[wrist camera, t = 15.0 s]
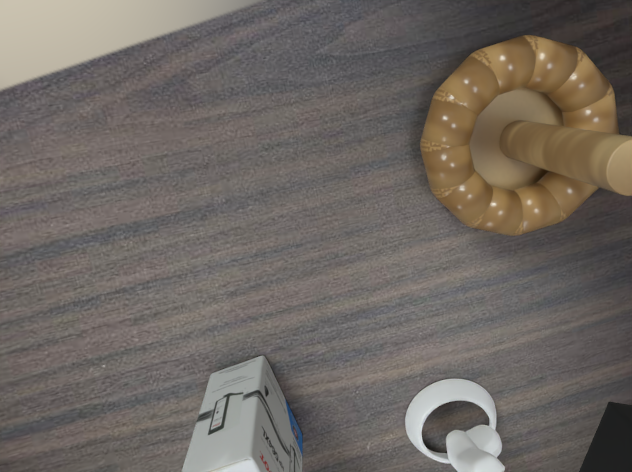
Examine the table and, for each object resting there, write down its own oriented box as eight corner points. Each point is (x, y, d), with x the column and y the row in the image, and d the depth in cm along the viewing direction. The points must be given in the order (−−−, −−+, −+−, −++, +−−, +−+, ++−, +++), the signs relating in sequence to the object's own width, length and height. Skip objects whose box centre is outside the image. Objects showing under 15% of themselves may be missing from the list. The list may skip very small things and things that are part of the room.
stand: (469, 55, 33) (581, 36, 21) (591, 88, 34) (771, 89, 22) (429, 185, 36) (507, 240, 23) (545, 211, 37) (681, 279, 24)
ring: (448, 19, 31) (464, 12, 28) (627, 65, 33) (660, 63, 30) (396, 207, 35) (406, 217, 32) (561, 242, 36) (584, 255, 33)
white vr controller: (477, 347, 34) (554, 437, 32) (455, 361, 45) (511, 428, 43) (391, 417, 33) (463, 513, 31) (390, 414, 45) (443, 484, 42)
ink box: (304, 436, 42) (309, 566, 30) (249, 455, 42) (234, 591, 31) (264, 351, 39) (254, 458, 28) (206, 372, 39) (173, 487, 28)
